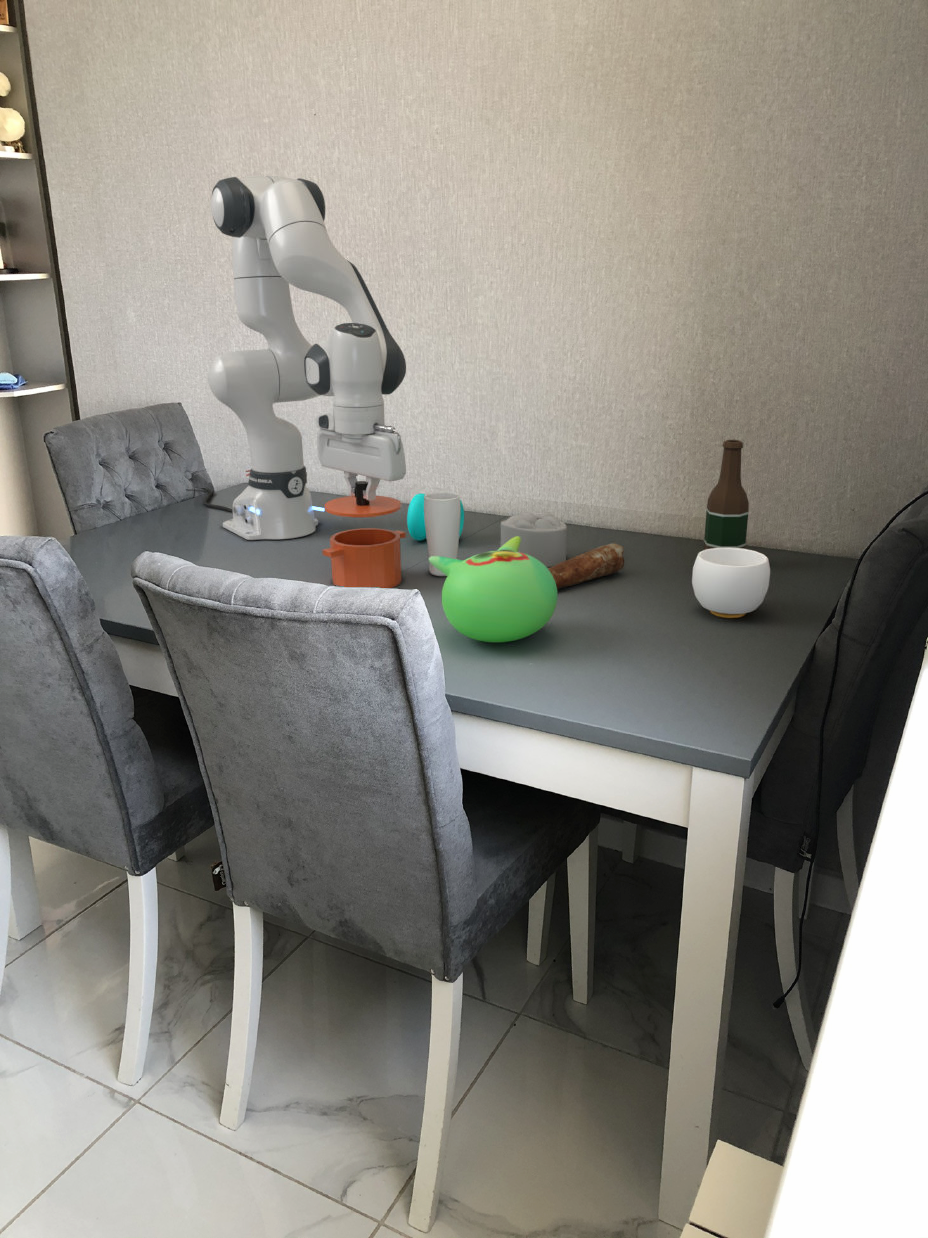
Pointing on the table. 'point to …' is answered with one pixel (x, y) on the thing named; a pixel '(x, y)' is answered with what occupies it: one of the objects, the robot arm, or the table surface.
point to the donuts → (417, 518)
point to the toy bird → (497, 593)
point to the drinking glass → (442, 526)
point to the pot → (366, 557)
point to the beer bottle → (727, 503)
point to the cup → (730, 580)
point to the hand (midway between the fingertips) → (362, 498)
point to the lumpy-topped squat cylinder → (537, 536)
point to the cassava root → (589, 565)
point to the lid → (362, 504)
